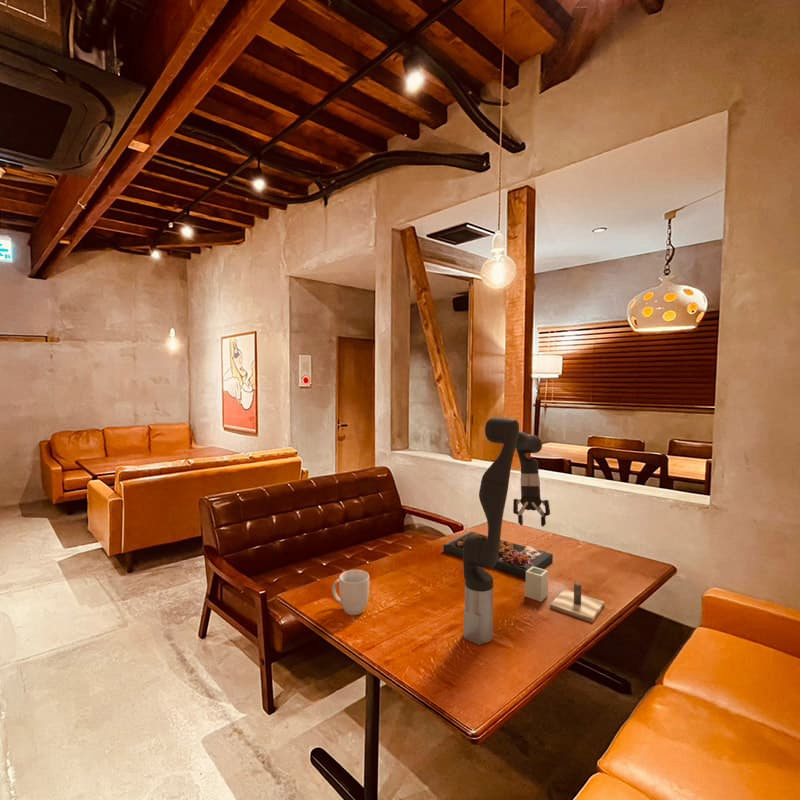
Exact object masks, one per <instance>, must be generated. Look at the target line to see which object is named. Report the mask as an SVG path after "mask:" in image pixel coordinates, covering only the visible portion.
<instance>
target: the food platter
mask: <svg viewBox="0 0 800 800" xmlns="http://www.w3.org/2000/svg"><path fill="white" fill-rule="evenodd" d="M469 535H476V536H480V537H484V538H487V537H488V535H485V534H481V533H479V532H477V531H470V532H466V533H465V534H462V535H461V536H458V537H457V538H454V539H453V540H450V541H447V542H446V543H443V546H442V547H443V548H442V550H443V551H442V552H443V553H446V554H448V555H452V556H453V557H457V558H461V559H463V546H464V542H465V539H466V538H467V537H468V536H469ZM553 557H554V555H553V553H550V552H547V551H543V550H539V549H535V547H532V546H530V545H529V546H528V545H527V546H524V545H521V544H517V543H513V542H511V541H510V542H509V541H506V540H503V539H500V547H499V555H498V560H497V563H496V565H495V567H494V568H492V569H494V570H496V571H499V572H503V573H506V574H509V575H512V576H515V577H517V578H521V579H523V580H526V571H527V570H528V569H530V568H531V567H532V566H534V567H537V568H540V569H544V570H545V569H546V568H547V567H549V566H550V565H551V564H552V563H553V561H554V559H553Z"/></svg>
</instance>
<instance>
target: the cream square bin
mask: <svg viewBox="0 0 800 800" xmlns="http://www.w3.org/2000/svg"><path fill="white" fill-rule="evenodd" d="M548 587H549V570H547V569H545V568H544V569H540V568H537V567H534V566H532V567H531V568H530V569H528V570H527V571H526V579H525V588H524V589H525V593H524V594H525V595H524V597H526V598H528V599H532V600H534V601H538V602H543V601H544V600H545V599H546V598H547V597H548V595H549V592H548V591H549V588H548Z"/></svg>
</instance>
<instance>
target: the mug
mask: <svg viewBox="0 0 800 800" xmlns="http://www.w3.org/2000/svg"><path fill="white" fill-rule="evenodd" d="M338 577H339V578H337V579H336V580H335V581H334V582H333V584H332V588H331V589H332V590H331V591H332V596H333V598H334V599H335V600H336V601H337V602H338V603H341V607H342V608H343V609H342V610H344V612H345V613H346V614H347V615H349V616H358V615H360V614H361V615H362V613H363V612H364V611H365V609H366V608H367V604H368V603H369V602H368V601H369V597H370V575H369V573H368V572H367V571H365V570H363V569H349V570H346V571H343V572H342V573H340V575H339V576H338ZM337 584H338V585H339V589H338V591H339V595H338V594H337V591H336V590H337V588H336V587H337Z"/></svg>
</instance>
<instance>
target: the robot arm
mask: <svg viewBox="0 0 800 800" xmlns="http://www.w3.org/2000/svg"><path fill="white" fill-rule="evenodd" d="M484 434H485V438H486V439H487V440H488V442H490V443H495V444H503V445H502V448H501V451H500V453H499V455H498V456H497V457H496V459H495V460H494V461H493V463H492V464H491V465H490V466H489V467H488V468H487V469H486V471H485V472H484V473H483V475H482V477H481V481H480V486H479V491H478V498H479V502H480V505H481V507H482V510H483V512H484V515H485V518H486V521H487V536H488V537H487V538H484V537H480V536H476V535H469V536H468V537H467V538H466V539H465V542H464V546H463V558H462V561H463V562H462V563H463V564H462V565H463V566H462V567H463V578H464V610H463V639H464V640H467V641H468V642H471V643H473V644H476V645H479V646H481V645H483V644H487V643H490V642H491V641H492V640H493V638H494V637H493V636H494V577H493V576H492V575H491V574H490V573H489V572H487V571H486V570H485V569H489V570H492V569H493V568H494V567H495V565H496V563H497V560H498V555H499V547H500V540H501V535H502V527H503V526H502V524H503V518H504V511H505V507H506V501H507V497H508V491H509V484H510V477H511V469H512V464H513V460H514V455H515V451H516V453H517V456H518V460H519V463H520V496H521V497H520V499H519V498H513V500H512V501H513V506H512V507H513V508H512V509H513V510H512V511H513V512H512V513H513V514H514V515H517V519H518V520H517V522H518V524H519V525H520V526H523V525H524V521H523V520H524V517H523V514H524V513H525V511H526V510H527V511H536V512H537V513H538V514H539V515H540V516H541V517H540V526H541V527H543V528H544V527H545V526H546V524H547V523H546V522H547V521H546V519H547V518H546V517H547V516H550V515H551V508H550V500H549V499H541V483H540V475H539V462H538V460H537V459H535V458H529V457H528V456H527V454H537V453H539V452H540V451H541V450H542V447H543V442H542V440H541V438H540V437H539V436H537V435H535V434H528V433H526V432H524V431H522V430H520V424H519V421H518V420H517V419H516V418H509V417H491V418H489V419H488V420H487V421H486V422H485V426H484ZM520 504H521V505H522V506H521V508H520V509H519V505H520ZM541 505H543V506H544V509H545V511H544V510H543V508H542V507H541Z"/></svg>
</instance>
